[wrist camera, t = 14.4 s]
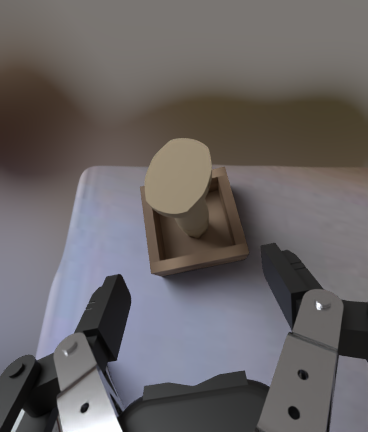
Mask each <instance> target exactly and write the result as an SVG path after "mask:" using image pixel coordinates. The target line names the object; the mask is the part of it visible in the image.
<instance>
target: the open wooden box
mask: <svg viewBox="0 0 368 432" xmlns="http://www.w3.org/2000/svg"><path fill="white" fill-rule="evenodd" d="M140 191H141V198H142V206H143V214H144V222H145V230H146V237H147V245H148V253H149V261H150V269H151V274H155V275H158V276H161V277H162V276H167V275H171V274H176V273H181V272H186V271H191V270H196V269H201V268H206V267H210V266H215V265H220V264H225V263H230V262H235V261H240V260H245V258H246V257H247V256H248V254H249V250H248V246H247V243H246V239H245V236H244V232H243V229H242V225H241V222H240V218H239V215H238V211H237V208H236V204H235V201H234V197H233V194H232V190H231V187H230V183H229V180H228V176H227V173H226V169H225V167H221V168H217V169H213V170H212V180H211V184H210V188H209V191H208V193H207V195H206V197H205V200H206V204H207V207H208V211H209V224H208V230H207V232H206V233H203V234H202V235H201V236H200V238H198V239H196V238H195V237H193V236H190V237H189V236H188V235H186V233H184V232H183V231H182V230H181V229H180V227H179V226H178V224H177V222H176V220H175V218H171V217H166V216H163V215H161V214H159V213H157V212H156V211H155V210H154V209H153V208H152V207H151V206H150V205H149V204H148V202H147V201H146V197H145V186H142V187H140Z"/></svg>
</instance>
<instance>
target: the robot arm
mask: <svg viewBox="0 0 368 432" xmlns="http://www.w3.org/2000/svg"><path fill="white" fill-rule="evenodd" d="M260 248H261V258H262V267H263V272H264V275H265V278H266V280H267V282H268V284H269V286H270V288H271V290H272V292H273V294H274V296H275V298H276V300H277V302H278V304H279V306H280V308H281V310H282V312H283V314H284V316H285V318H286V320H287V322H288V324H289V326H290V328H291V330H292V333H291V332H289V333H288V335H287V337H286V340H285V343H284V346H283V349H282V352H281V355H280V358H279V361H278V364H277V367H276V370H275V373H274V376H273V379H272V383H271V386H270V387H269V386H267V385H265V384H263V383H261V382H258V381H254V380H249V379H247V378H246V374H245V371H238V372H232V373H226V374H219V375H217V376H215V377H213V378H211V379H209V380H206V381H204V382H202V383H200V384H198V385H195V386H188V385H181V384H175V383H162V384H156V385H149V386H144V392H143V396H142V397H140V398H139V399H137V400H135V401H134V402H133V403H131V404H130V405H129V406H128V407H127V408H126V409H125V408H124V406H123V404H122V402H121V400H120V398H119V396H118V393H117V391H116V389H115V387H114V385H113V382H112V380H111V378H110V376H109V374H108V371H107V370H106V367H107V363H108V362H111V361H117V357H118V353H119V349H120V345H121V341H122V338H123V334H124V330H125V326H126V322H127V318H128V314H129V310H130V306H131V295H130V292H129V290H128V288H127V286H126V283H125V281H124V279H123V277H122V275H121V274H117V275H112V276H107V277H106V279H105V281H104V283H103V285H102V287H99V288H98V289H97V290H96V291H95V292H94V293H93V295H92V297H91V299H90V301H89V304H88V305H87V307H86V310H85V311H84V313H83V315H82V318H81V320H80V322H79V324H78V326H77V328H76V330H75V332H74V334H71V335H69V336H68V337H66V338H65V339H64V340H63V341H62V342H61V343H60V344H59V345H58V346H57V348H56V349H55V352H54V353H52V354H50V355H48V356H46V357H44V358H42V359H39V360H36V359H35V357H34V356H33V355H25V356H22V357H20V358H18V359H17V360H15V361H14V362H13V363H11V364H10V365H9V366H8V367H7V368H6V369H5V371H4V372H3V373H2V375H1V376H0V432H11V430H12V428H13V426H14V424H15V422H16V420H17V418H18V416H19V414H20V412H21V410H22V409H23V410H24V411H25V412H24V415H23V417H22V419H21V421H20V423H19V425H18V427H17V429H16V431H15V432H52V430H53V428H54V425H55V422H56V419H57V416H58V414H60V419H61V425H62V430H63V432H329V431H330V423H331V415H332V406H333V397H334V390H335V382H336V374H337V367H338V359H339V355H342V356H348V357H354V358H361V359H366V360H367V362H368V303H367V302H353V301H345V300H341V299H340V298H339V297H338V296H337V295H335V294H334V293H332V292H330V291H327V290H324V289H323V288H322V287H321V285H320V284H319V283H318V282H317V280H316V279H315V278H314V277H313V275H312V274H311V273H310V272H309V270H308V269H307V268H306V267H305V265H304V264H303V263H302V262H301V260H300V259H299V258H298V257H297V255H295V254H294V253H292V252H290V251H288V250H285V251H281V250H280V249H279V247H278V246H277V245H276V243H271V244H266V245H261V247H260Z"/></svg>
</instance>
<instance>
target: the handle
mask: <svg viewBox="0 0 368 432" xmlns="http://www.w3.org/2000/svg"><path fill="white" fill-rule="evenodd" d="M211 180H212V164H211V158H210V153H209V148H207V146H206V145H204V144H203V143H201V142H199V141H197V140H193V139H187V138H179V139H174V140H171V141H169V142H168V143H167V144H166V145H165V146H164V147H162V149H161V150H159V151H158V152H157V154H156V155H155V156H154V158H153V160H152V161H151V164H150V166H149V168H148V171H147V173H146V177H145V197H146V201H147V202H148V204H149V205H150V206H151V207H152V208H153V209H154V210H155V211H156V212H157V213H159V214H161V215H163V216H166V217H171V218H175V220H176V222H177V224H178V226H179V227H180V229H181V230H182V231H183V232H184V233H186V235H188V236H189V237H190V236H193V237H195V238H196V239H198V238H200V236H201V235H202V234H203V233H206V232H207V230H208V224H209V211H208V207H207V204H206V200H205V197H206V195H207V193H208V191H209V188H210V184H211Z"/></svg>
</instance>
